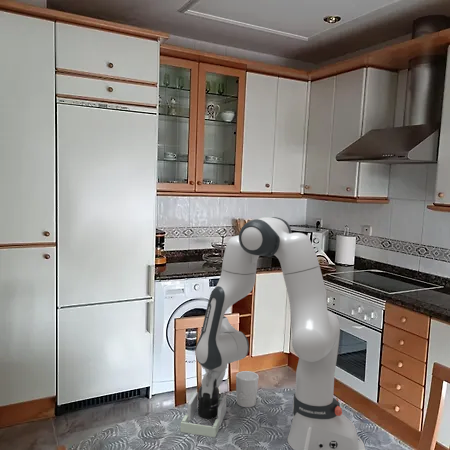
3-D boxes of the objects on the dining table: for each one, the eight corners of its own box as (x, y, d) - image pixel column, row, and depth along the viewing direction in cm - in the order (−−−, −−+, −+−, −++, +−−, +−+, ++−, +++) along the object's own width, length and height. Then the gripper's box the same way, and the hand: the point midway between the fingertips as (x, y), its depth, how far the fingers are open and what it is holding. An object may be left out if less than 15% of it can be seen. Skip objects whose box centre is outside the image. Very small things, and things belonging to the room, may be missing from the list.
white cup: (254, 410, 148) (255, 381, 147) (232, 406, 150) (233, 378, 150) (259, 399, 156) (260, 372, 155) (238, 396, 158) (239, 369, 157)
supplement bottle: (215, 421, 140) (216, 385, 139) (195, 418, 141) (196, 382, 141) (220, 410, 147) (221, 376, 146) (200, 408, 148) (201, 374, 147)
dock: (218, 428, 136) (219, 419, 135) (215, 437, 131) (215, 427, 131) (185, 423, 138) (185, 414, 138) (180, 431, 133) (180, 422, 133)
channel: (225, 412, 146) (226, 396, 145) (220, 425, 138) (220, 408, 137) (194, 407, 148) (195, 392, 148) (187, 420, 140) (187, 404, 140)
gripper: (216, 375, 139) (215, 416, 140) (229, 352, 159) (228, 388, 160) (197, 372, 140) (196, 413, 141) (212, 350, 160) (211, 386, 161)
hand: (213, 400), depth 151 cm, fingers closed
